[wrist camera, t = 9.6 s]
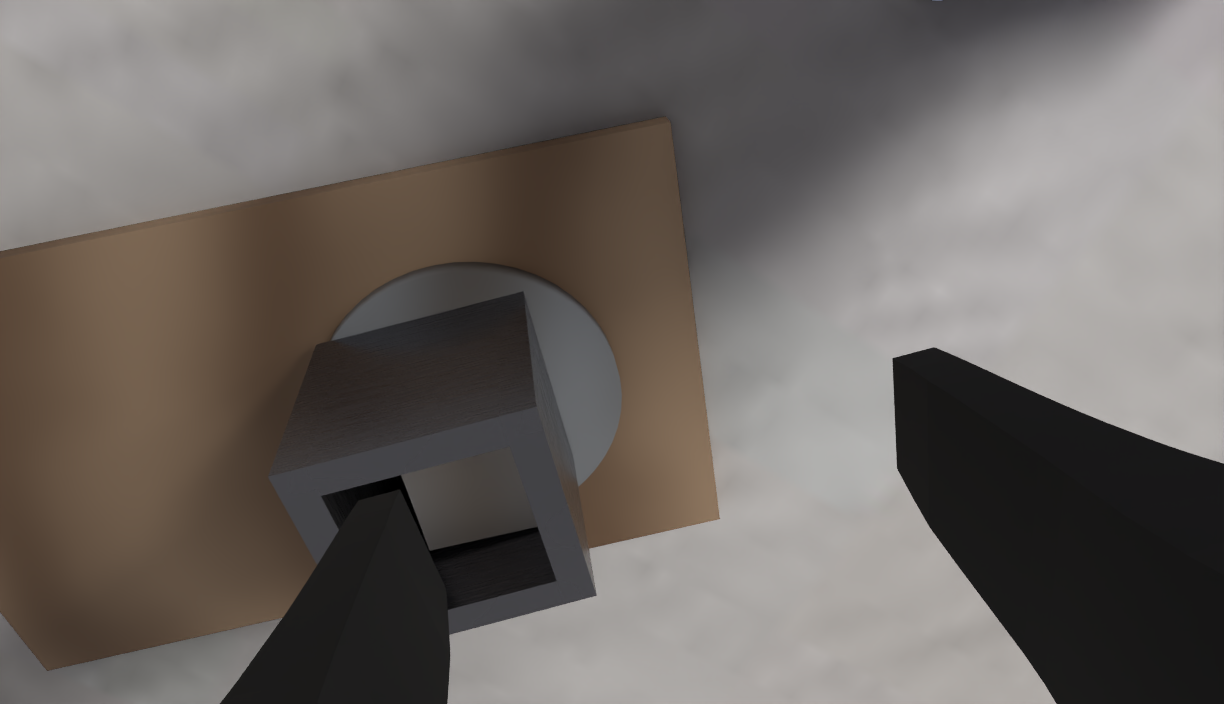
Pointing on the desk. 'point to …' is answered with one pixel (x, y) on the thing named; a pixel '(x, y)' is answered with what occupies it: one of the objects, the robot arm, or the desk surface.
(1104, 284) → the desk surface
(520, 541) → the socket sleeve
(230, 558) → the wooden board
